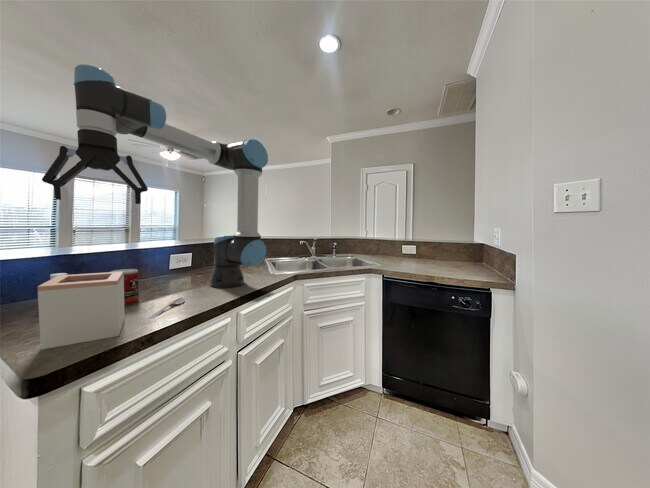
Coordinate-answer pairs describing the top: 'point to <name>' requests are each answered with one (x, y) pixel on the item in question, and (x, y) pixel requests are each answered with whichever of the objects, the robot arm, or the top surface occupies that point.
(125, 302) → the canned food
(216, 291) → the top surface
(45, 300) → the drop box
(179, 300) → the spoon
